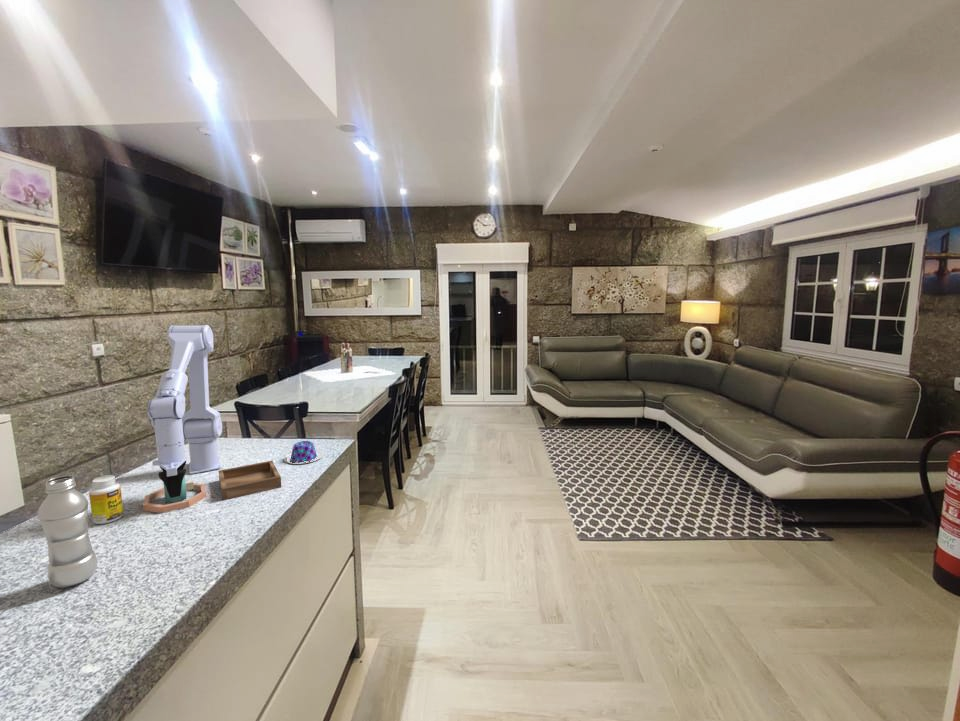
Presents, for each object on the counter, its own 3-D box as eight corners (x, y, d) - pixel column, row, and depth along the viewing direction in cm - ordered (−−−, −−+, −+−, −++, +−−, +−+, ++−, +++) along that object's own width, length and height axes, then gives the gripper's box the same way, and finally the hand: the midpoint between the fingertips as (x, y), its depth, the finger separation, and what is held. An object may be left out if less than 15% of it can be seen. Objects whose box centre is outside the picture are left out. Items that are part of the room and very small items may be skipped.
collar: (146, 495, 111) (145, 490, 111) (204, 484, 119) (204, 479, 118) (142, 517, 101) (141, 511, 101) (206, 503, 108) (206, 497, 108)
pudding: (278, 466, 132) (277, 450, 131) (290, 452, 144) (289, 437, 143) (318, 465, 134) (318, 449, 133) (327, 451, 146) (326, 436, 145)
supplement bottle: (111, 525, 97) (105, 483, 96) (86, 525, 97) (80, 483, 96) (130, 512, 103) (125, 473, 101) (106, 512, 103) (101, 473, 101)
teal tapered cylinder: (165, 498, 110) (163, 476, 109) (194, 492, 114) (192, 471, 113) (165, 505, 107) (162, 483, 106) (194, 499, 110) (192, 477, 109)
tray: (219, 480, 121) (218, 470, 121) (272, 469, 129) (272, 460, 128) (222, 500, 110) (222, 489, 109) (281, 487, 118) (280, 476, 117)
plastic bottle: (107, 573, 81) (94, 474, 78) (63, 597, 74) (46, 490, 71) (85, 566, 83) (72, 469, 80) (40, 588, 76) (24, 484, 73)
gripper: (152, 437, 111) (157, 485, 113) (148, 454, 99) (154, 508, 101) (185, 432, 115) (189, 479, 117) (185, 448, 103) (190, 500, 105)
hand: (175, 492), depth 109 cm, fingers closed on teal tapered cylinder, 4 cm apart
